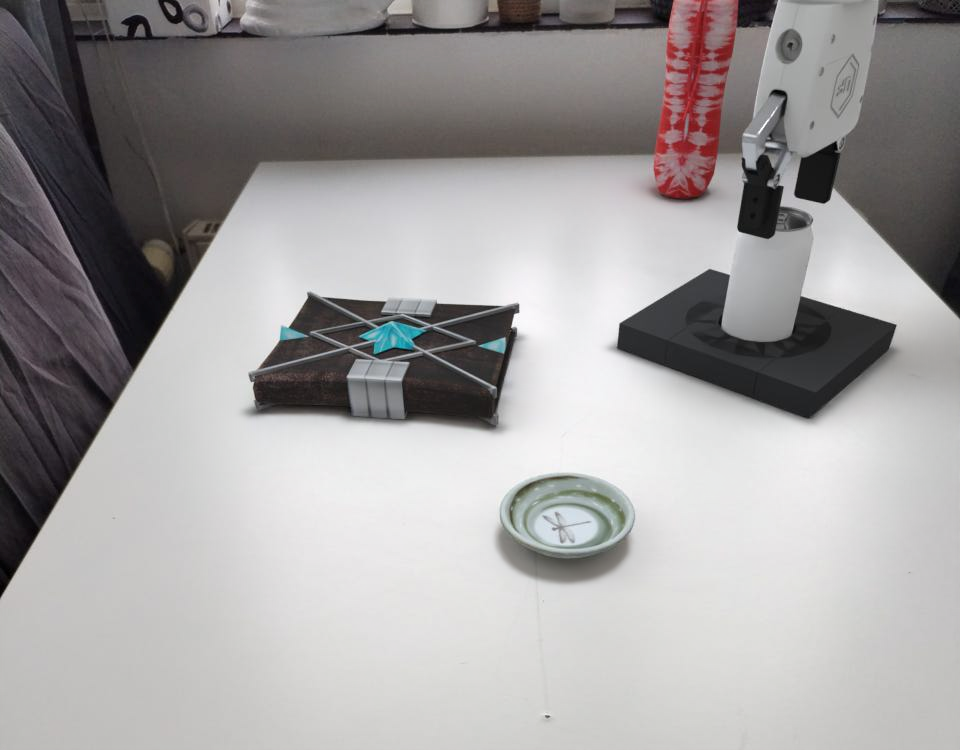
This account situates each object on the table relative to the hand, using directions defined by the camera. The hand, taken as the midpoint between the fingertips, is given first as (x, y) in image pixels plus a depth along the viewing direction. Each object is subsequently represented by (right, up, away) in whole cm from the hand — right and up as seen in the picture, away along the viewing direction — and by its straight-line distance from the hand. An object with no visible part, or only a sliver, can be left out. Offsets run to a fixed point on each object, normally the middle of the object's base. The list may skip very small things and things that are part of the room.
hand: (784, 216), depth 76 cm
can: (0, -9, +9) cm, 12 cm away
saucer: (-20, -29, -11) cm, 37 cm away
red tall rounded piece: (0, +22, +40) cm, 46 cm away
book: (-34, -12, +7) cm, 37 cm away
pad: (0, -9, +9) cm, 12 cm away
